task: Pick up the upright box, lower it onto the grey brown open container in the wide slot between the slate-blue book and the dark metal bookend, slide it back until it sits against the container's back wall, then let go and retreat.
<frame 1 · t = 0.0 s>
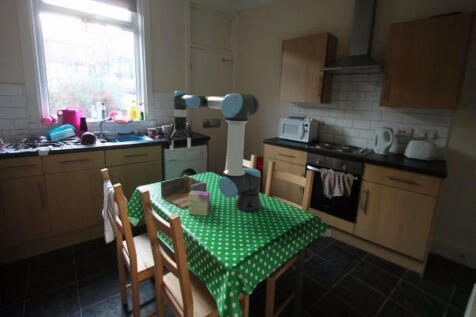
hand: (180, 148, 167), 28 cm above the table, fingers open, 13 cm apart
grey brown open container: (183, 199, 157), on the table
box: (199, 213, 140), on the table
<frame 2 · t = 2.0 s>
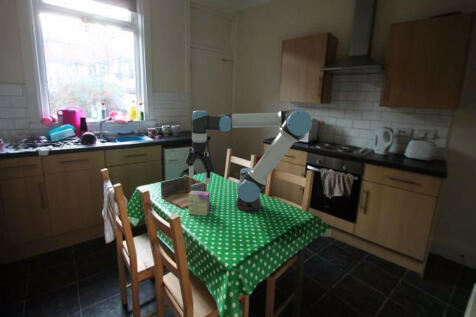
hand: (199, 180, 136), 19 cm above the table, fingers open, 13 cm apart
nothing on the table moved.
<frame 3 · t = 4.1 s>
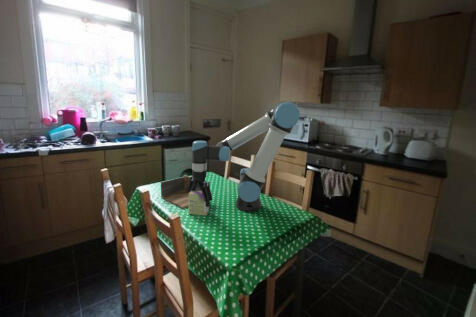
hand: (199, 208, 139), 3 cm above the table, fingers closed on box, 11 cm apart
box: (198, 213, 140), on the table, touching gripper
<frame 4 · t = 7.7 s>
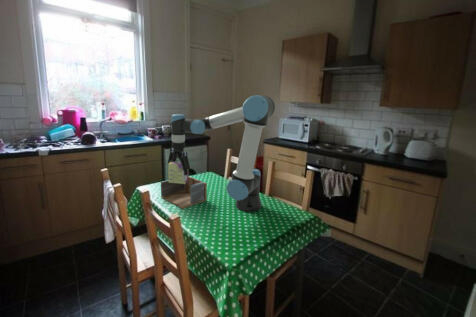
hand: (178, 177, 151), 15 cm above the table, fingers closed on box, 11 cm apart
box: (178, 182, 152), point 12 cm above the table, touching gripper
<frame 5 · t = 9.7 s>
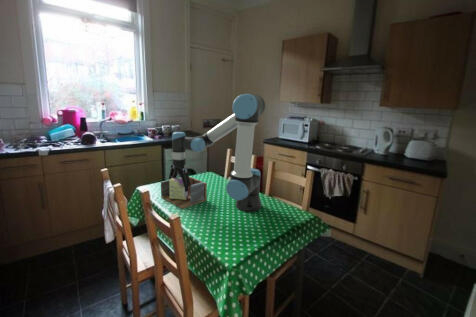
hand: (179, 193, 154), 5 cm above the table, fingers closed on box, 11 cm apart
box: (179, 197, 154), point 2 cm above the table, touching gripper
when the fingers open (5 cm above the table, at t = 11.4 s): box stays where it is, resting on grey brown open container.
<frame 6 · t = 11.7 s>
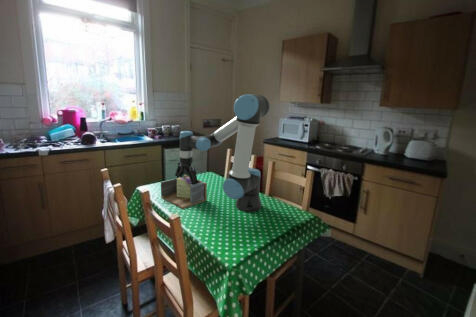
hand: (186, 190, 157), 5 cm above the table, fingers open, 13 cm apart
box: (186, 196, 158), point 1 cm above the table, touching grey brown open container
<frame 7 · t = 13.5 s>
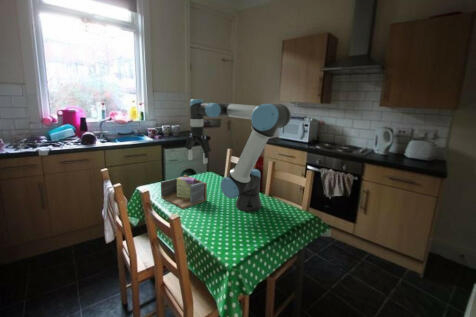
hand: (197, 161, 153), 24 cm above the table, fingers open, 13 cm apart
nothing on the table moved.
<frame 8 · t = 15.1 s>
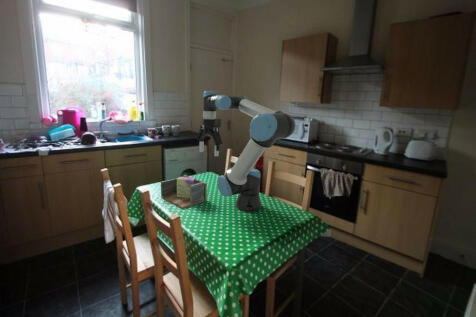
hand: (208, 153, 153), 29 cm above the table, fingers open, 13 cm apart
nothing on the table moved.
at the end: box 0.1 cm from the target spot on the grey brown open container, point 1.0 cm above the grey brown open container's base; box tilted 0°; the gripper is holding nothing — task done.
